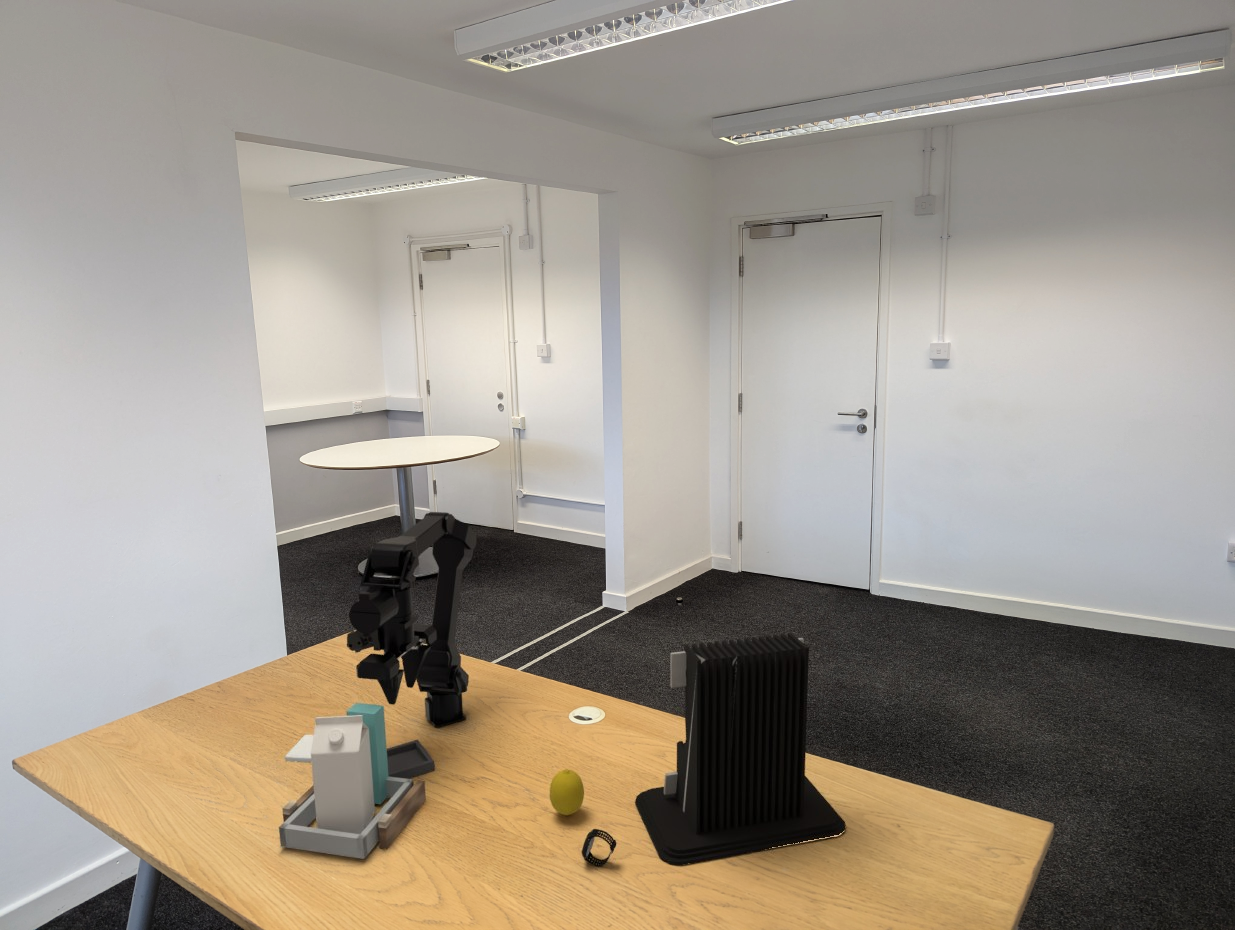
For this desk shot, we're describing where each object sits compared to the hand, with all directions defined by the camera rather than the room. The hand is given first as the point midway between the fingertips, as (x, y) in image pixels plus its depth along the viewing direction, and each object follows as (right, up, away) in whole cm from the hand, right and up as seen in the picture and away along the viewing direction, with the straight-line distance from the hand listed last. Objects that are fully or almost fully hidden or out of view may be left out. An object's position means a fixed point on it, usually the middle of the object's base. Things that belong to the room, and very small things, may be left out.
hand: (401, 695), depth 144 cm
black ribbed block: (+58, -16, -14) cm, 62 cm away
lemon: (+31, -16, -14) cm, 37 cm away
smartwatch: (+36, -18, -26) cm, 47 cm away
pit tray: (0, -13, +1) cm, 13 cm away
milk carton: (-4, -17, -16) cm, 24 cm away
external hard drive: (-16, -13, +7) cm, 21 cm away
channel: (-3, -16, -14) cm, 21 cm away
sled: (-4, -16, -16) cm, 23 cm away
